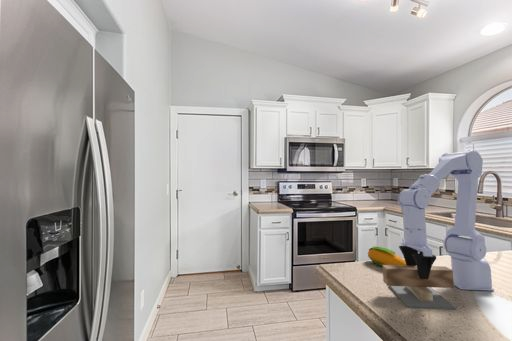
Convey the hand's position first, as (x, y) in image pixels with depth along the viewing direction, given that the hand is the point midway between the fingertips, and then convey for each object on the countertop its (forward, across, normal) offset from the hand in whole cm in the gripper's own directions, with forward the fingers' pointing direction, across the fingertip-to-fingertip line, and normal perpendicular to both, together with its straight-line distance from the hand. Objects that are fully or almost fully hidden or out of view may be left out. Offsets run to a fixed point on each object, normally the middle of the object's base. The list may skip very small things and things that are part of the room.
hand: (417, 274), depth 75 cm
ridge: (+7, 0, 0) cm, 7 cm away
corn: (+7, -26, +1) cm, 27 cm away
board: (+7, 0, 0) cm, 7 cm away
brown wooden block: (+3, 0, 0) cm, 3 cm away
